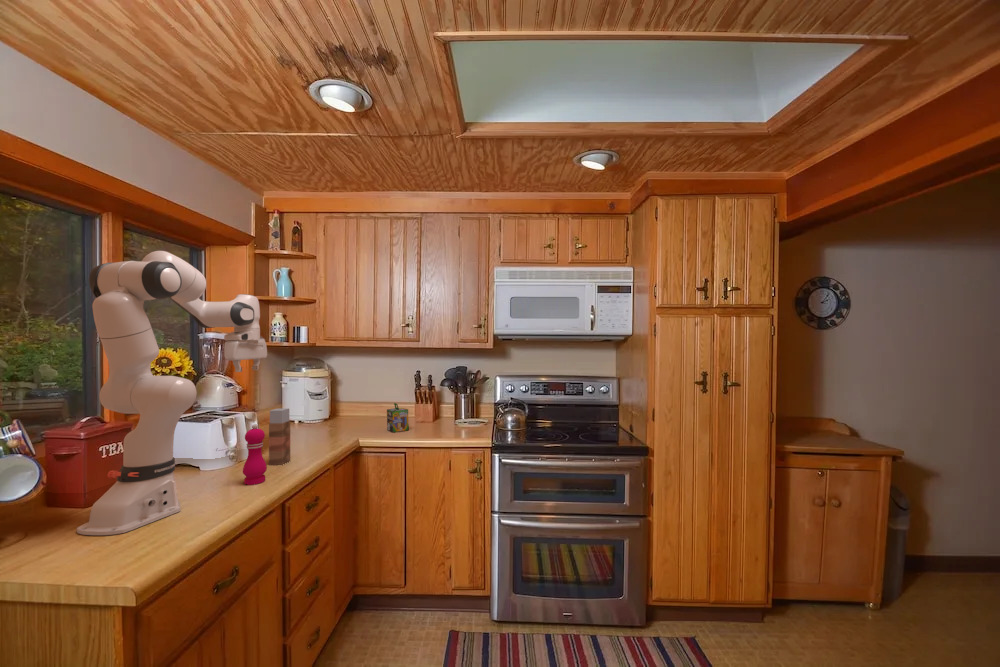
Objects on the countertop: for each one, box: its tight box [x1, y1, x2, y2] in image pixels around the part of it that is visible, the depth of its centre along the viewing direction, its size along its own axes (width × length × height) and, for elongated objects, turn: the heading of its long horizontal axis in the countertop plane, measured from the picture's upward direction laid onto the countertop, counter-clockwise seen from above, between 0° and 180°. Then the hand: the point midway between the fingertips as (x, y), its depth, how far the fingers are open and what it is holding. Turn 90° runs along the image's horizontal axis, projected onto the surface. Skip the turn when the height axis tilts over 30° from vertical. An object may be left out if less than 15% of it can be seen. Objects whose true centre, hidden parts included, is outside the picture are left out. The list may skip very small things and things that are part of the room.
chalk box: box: [386, 402, 410, 434], centre depth 229 cm, size 9×9×15 cm
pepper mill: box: [242, 423, 268, 486], centre depth 146 cm, size 7×7×20 cm
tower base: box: [268, 447, 291, 466], centre depth 168 cm, size 6×6×6 cm
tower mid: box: [268, 434, 291, 452], centre depth 169 cm, size 6×6×6 cm
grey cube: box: [269, 408, 290, 423], centre depth 169 cm, size 5×5×5 cm
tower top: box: [268, 420, 291, 438], centre depth 169 cm, size 6×6×6 cm
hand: (247, 371), depth 166 cm, fingers open, 8 cm apart
